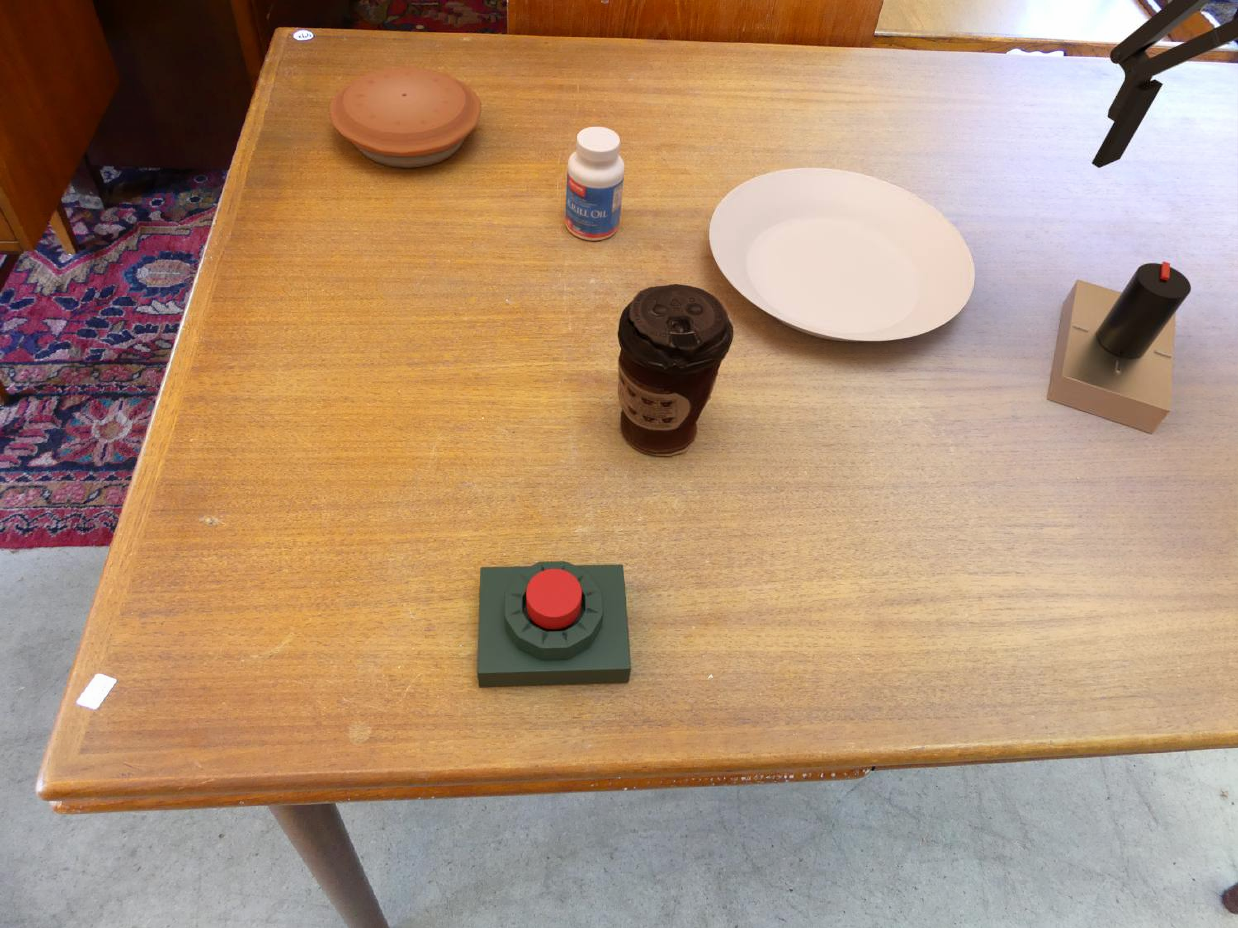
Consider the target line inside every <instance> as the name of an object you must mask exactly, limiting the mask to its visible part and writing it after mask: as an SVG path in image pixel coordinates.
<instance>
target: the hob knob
mask: <svg viewBox="0 0 1238 928" xmlns="http://www.w3.org/2000/svg"><path fill="white" fill-rule="evenodd" d="M1191 291H1192V285H1191V282H1190V281H1189V279H1188V278H1187V277H1186V276H1185V275H1184V274H1183V273H1181V271H1179V270H1177V269H1175V268H1174V267H1172V266H1171V263H1170V262H1167V261H1162V262H1161V263H1158V262H1147V263H1144V264H1141V265H1140V266H1139V267H1138V268H1137V269H1136V270H1135V272H1134V274H1133V275H1132V277H1131V278H1130V280H1129V281H1128V283H1127V284H1126V286H1125V287H1124V288H1123V290H1122V292H1121V295H1120V296H1119V298H1118V299H1117V301H1116V302H1115V304H1114V305H1113V307H1112V308H1111V310H1110V311H1109V313H1108V314H1107V316H1106V317H1105V319H1104V321H1103V322H1102V324H1101V325H1100V327H1099V328H1098V330H1097V338H1098V340H1099V342H1100V343H1101V344H1102V346H1103V347H1104V348H1106V349H1107V350H1108V351H1110V352H1112V353H1113V354H1116V355H1118V356H1121V357H1126V358H1137V357H1140V356H1142V355H1144V354H1145V353H1146V351H1147V350H1148V349H1149V347H1150V346H1151V345H1152V343H1153V342H1154V341H1155V339H1156V338H1157V337H1158V335H1159V334H1160V332H1161V331H1162V330H1163V328H1164V327H1165V326H1166V324H1167V323H1168V322H1169V320H1170V319H1171V318H1172V316H1173V315H1174V313H1175V312H1176V313H1177V311H1178V310H1179V308H1180V307H1181V306H1182V304H1183V303H1184V301H1185V300H1186V299H1187V297H1188V296H1189V295H1190V293H1191Z"/></svg>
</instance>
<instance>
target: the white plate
mask: <svg viewBox="0 0 1238 928" xmlns="http://www.w3.org/2000/svg"><path fill="white" fill-rule="evenodd" d="M708 236H709V237H708V238H709V245H710V249H711V253H712V256H713V258H714V260H715V262H716V264H717V266H718V268H719V270H720V271H721V273H722V274H723V275H724V277H725V279H727V280H728V282H729V283H730V284H731V285H732V286H733V287H734V288H735V290H737V291H738V292H739V293H740V294H741V295H742V296H743V297H744V298H746V299H747V300H748V301H749V302H750V303H752V304H753V305H754V306H756V307H757V308H759V309H761V310H763V311H764V312H765V313H767V314H768V315H770V316H771V317H773V318H774V319H775V320H777V321H778V322H780V323H782V324H783V325H784V326H787V327H789V328H791V329H793V330H796V331H798V332H800V333H803V334H806V335H808V336H812V337H816V338H821V339H825V340H831V341H836V342H837V341H838V342H882V341H883V342H885V341H894V340H895V341H896V340H901V339H907V338H911V337H916V336H919V335H922V334H925V333H928V332H931V331H932V330H935V329H938V328H939V327H941V326H943V325H945V324H946V323H948V322H949V321H950V320H952V319H953V318H954V317H955V316H957V315H958V314H959V313H960V312H961V311H962V310H963V308H964V307H965V305H966V304H967V303H968V301H969V300H970V298H971V295H972V293H973V291H974V286H975V279H976V278H975V277H976V270H975V263H974V259H973V256H972V252H971V250H970V248H969V246H968V244H967V242H966V241H965V239H964V237H963V236H962V235H961V232H959V230H958V229H957V228H956V227H955V225H954V224H953V223H952V222H951V221H950V220H949V219H948V218H947V217H946V216H945V215H944V214H943V213H941V212H940V211H939V210H938V209H937V208H935V207H934V206H932V205H931V204H930V203H928V202H927V201H925V200H924V199H922V198H921V197H919V196H917V195H916V194H913V193H912V192H910V191H909V190H906V189H904V188H903V187H900V186H898V185H896V184H893V183H892V182H891V183H890V182H888V181H885V180H883V179H880V178H877V177H874V176H870V175H867V174H863V173H859V172H855V171H849V170H844V169H838V168H837V169H836V168H828V167H826V168H825V167H796V168H787V169H781V170H780V169H779V170H775V171H770V172H767V173H763V174H760V175H758V176H755V177H752V178H750V179H748V180H745V181H744V182H742V183H741V184H739V185H737V186H736V187H734V188H733V189H732V190H731V191H730V192H728V193H727V194H726V195H724V197H723V198H722V199H721V201H720V202H719V203H718V205H717V206H716V208H715V210H714V212H713V213H712V217H711V220H710V223H709V231H708Z"/></svg>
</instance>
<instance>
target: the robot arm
mask: <svg viewBox="0 0 1238 928" xmlns="http://www.w3.org/2000/svg"><path fill="white" fill-rule="evenodd" d="M1211 1H1212V0H1171V1H1170V2H1168V3H1167V4H1166V5H1165V6H1164V7H1162V8H1161V9H1160V10H1159V11H1157V12H1156V13H1155V14H1153V16H1151V17H1150V18H1148V20H1147V21H1145V22H1144V23H1143V24H1142V25H1140V26H1139V27H1138V28H1137V29H1135V30H1134V31H1133V32H1132V33H1131V34H1129V35H1128V36H1126V38H1125V39H1123V40H1121V42H1119V43H1118V44H1117V45H1116V46H1115V47H1114V48H1113V49H1112V50H1111V51H1110V54H1109V59H1110V61H1111V62H1112V63H1113V64H1114V65H1119V67H1120V68H1121V69H1122V70H1123V72H1124V73H1123V74H1124V79H1123V82H1122V84H1121V86H1120V88H1119V89H1118V91H1117V93H1116V95H1115V97H1114V99H1113V101H1112V103H1111V104H1110V106H1109V108H1108V110H1107V118H1108V119H1110V120H1111V121H1113V122H1112V125H1111V127H1110V128H1109V130H1108V132H1107V134H1106V136H1105V137H1104V140H1103V141H1102V143H1101V144H1100V147H1099V148H1098V151H1097V152H1096V154H1095V156H1094V157H1093V160H1092V161H1091V164H1092V165H1093V166H1094V167H1096V168H1098V169H1101V168H1103V167H1105V166H1107V165H1110V164H1113V163H1115V162H1117V161H1119V160H1121V158H1122V157H1123V155H1124V153H1125V152H1126V149H1127V148H1128V146H1129V144H1130V143H1131V141H1132V139H1133V137H1134V136H1135V134H1136V132H1137V130H1139V127H1140V126H1141V124H1142V122H1143V120H1144V118H1145V116H1146V114H1147V113H1148V111H1149V109H1150V107H1151V106H1152V105H1153V102H1154V101H1155V99H1156V97H1157V95H1158V94H1159V92H1160V90H1161V89H1162V87H1163V85H1164V83H1163V82H1161V81H1160V80H1157V79H1156V78H1154V79H1153V77H1154V76H1157V75H1160V74H1162V73H1163V72H1166V71H1168V70H1170V69H1173V68H1175V67H1177V66H1179V65H1182V64H1184V63H1187V62H1189V61H1191V60H1193V59H1195V58H1198V57H1200V56H1203V55H1205V54H1207V53H1209V52H1212V51H1214V50H1216V49H1219V48H1221V47H1223V46H1226V45H1228V44H1230V43H1232V42H1234V41H1237V40H1238V17H1236V18H1233V19H1231V20H1230V21H1229V20H1228V21H1227V22H1225V23H1223V24H1221V25H1218V26H1216V27H1214V28H1213V29H1210V30H1209V31H1206V32H1204V33H1201V34H1200V35H1198V36H1195V37H1193V38H1191V39H1189V40H1187V41H1184V42H1182V43H1180V44H1178V45H1176V46H1174V47H1171V48H1169V49H1167V50H1164V51H1162V52H1161V53H1158V54H1156V55H1153V56H1152V57H1150V56H1149V55H1148V53H1147V51H1149V50H1150V49H1151V48H1152V47H1154V46H1155V45H1156V44H1158V43H1159V42H1160V41H1161V40H1163V39H1164V38H1165V37H1166V36H1167V35H1168V34H1170V33H1171V32H1173V31H1174V30H1175V29H1177V28H1178V27H1180V25H1181V24H1183V23H1184V22H1185V21H1187V20H1188V19H1189V18H1190V17H1191V16H1193V15H1194V14H1195V13H1197V12H1198V11H1199V10H1201V9H1202V8H1203V7H1205V6H1206V5H1208V3H1210V2H1211Z"/></svg>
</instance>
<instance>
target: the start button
mask: <svg viewBox="0 0 1238 928" xmlns="http://www.w3.org/2000/svg"><path fill="white" fill-rule="evenodd" d="M581 599H582V589H581V586H580V583H579V582H578V580H577V579H576V578H575V577H574V576H573V575H572V574H570V573H569V572H567V571H564V570H561V569H548V570H544V571H542V572H540V573H538V574H536V575H535V576H534V577H533V578H532V579H531V580H530V582H529V584H528V586H527V590H526V606H527V612H528V615H529V616H530V618H531V619H532V621H533V622H534V623H536V624H537V625H539V626H540V627H543V628H546V629H554V630H555V629H561V628H564V627H567V626H569V625H570V624H572V623H573V622H574V621H575V620H576V618H577V617H578V615H579V613H580V610H581Z"/></svg>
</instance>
